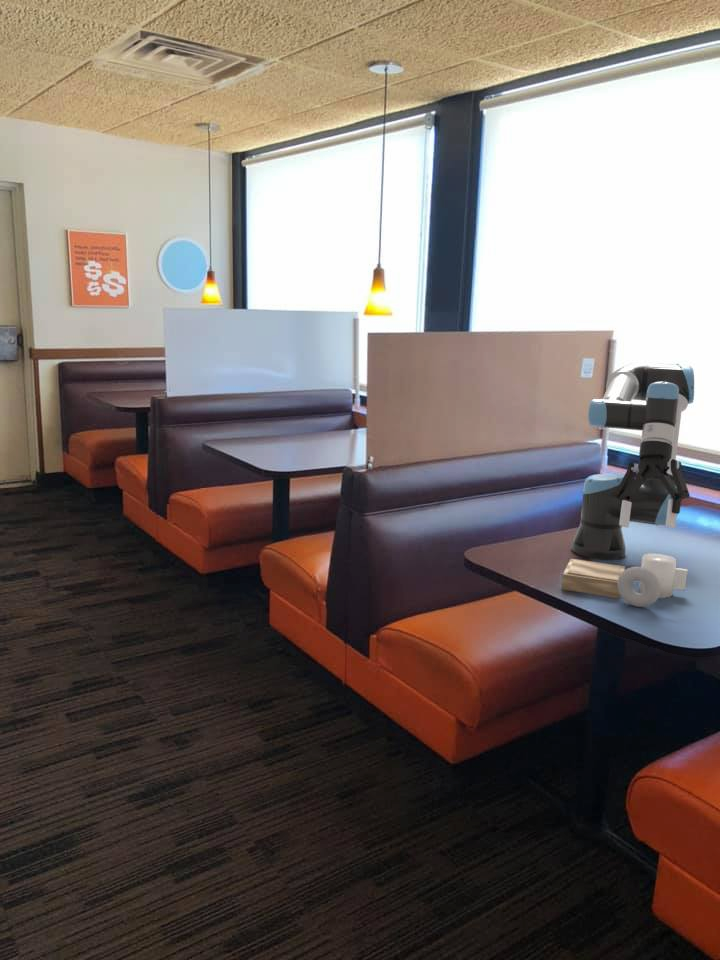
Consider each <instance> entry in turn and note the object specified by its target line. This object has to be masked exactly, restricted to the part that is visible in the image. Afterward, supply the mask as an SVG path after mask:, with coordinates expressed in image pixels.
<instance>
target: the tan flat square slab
mask: <svg viewBox="0 0 720 960" xmlns="http://www.w3.org/2000/svg"><path fill="white" fill-rule="evenodd" d="M625 570H626V566H624V565H619V564H618V565H617V564H612V563H611V564H610V563H603V562H597V561H589V560H584V559H576V558H570V560H569V562H568V563H567V565H566V567H565V569H564V571H563V573H562V578H561V579H562V580H561V590H563V591H571V592H578V593H584V594H590V595H596V596H602V597H609V598H615V599H620V597H621V596H620V593H619V591H618V585H617V583H618V579H619V576H620V575H621V573H622V572H623V571H625Z"/></svg>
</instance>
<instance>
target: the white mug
mask: <svg viewBox="0 0 720 960" xmlns="http://www.w3.org/2000/svg"><path fill="white" fill-rule="evenodd" d="M676 566H677V559H676V558H674V557H672V556H670V555H668V554H662V553H655V552H654V553H645V554H643V555H642V557H641V565H640V567H643V568H646V569H649V570H650V571H651V572H653V573H654V574H655V575H656V577H657V578H658V580H659V582H660V587H661V592H660V595H659V598H658V599H667V598H666V597H668V598H670V596H671V597H672V596H673V591H674V589H675V590H676V589H677V590H682V591H686V587H687V586H686V585H687V579H688V569H687V568H686V569H685V568H680V567H679V568H678V567H676ZM645 590H646V587H645V584H644V583H643V582H641V581H639V583H638V593H643V592H644V591H645Z"/></svg>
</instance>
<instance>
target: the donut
mask: <svg viewBox="0 0 720 960" xmlns="http://www.w3.org/2000/svg"><path fill="white" fill-rule="evenodd" d="M635 581H637V582H638V581H639V582H640V581H641V582H643V583H644V584H645V587H646V590H645V591H644V592H643V593H640V592H637V591H635V589H634V588H633V584H634V582H635ZM617 585H618V591H619V593H620V597H621V598H622V600H624V602H625V603H627V604H628V605H630V606H633V607H636V608H645V607H650V606H651V605H653V604H655V603H656V602H657V600H658V599H660V598H659V595H660V592H661V587H660V582H659V580H658V578H657V577H656V575H655V574H654V573H653V572H651V571H650V570H649V569H646V568H643V567H641V566H636V565H635V566H631V567H627V568H625V571H623V572H622V573H621V575H620V576H619V579H618V583H617Z"/></svg>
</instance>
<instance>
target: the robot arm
mask: <svg viewBox="0 0 720 960" xmlns="http://www.w3.org/2000/svg"><path fill="white" fill-rule="evenodd" d="M694 373H695V372H694V369H693V368H692V366H691V365H685V364H680V363H675V364H669V363H656V362H655V363H651V362H636V363H630V364H627V365H625V366H622V367H619V368H618V369H617V370H615V371H614V372H612V374H611V375H609V378H608V379H607V381H606V387H605V388H606V389H605V393H604V395H603V397H602V398H600V399H599V398H594V399H592V400H591V401H590V403H589V407H588V413H587V414H588V416H587V422H588V425H589V426H591V427H596V428H601V429H604V428H606V429H618V430H620V429H621V430H632V431H642V432H641V438H640V440H641V441H642V442H641V443H640V446H639V447H640V448H639V453H638V455H639V462H638V463H633V462H629V463H628V464H627V465H628V466H627V470H626V471H625V474H623V473H616V472H615V473H613V472H612V473H611V472H610V473H609V472H608V473H606V472H605V473H597V474H592V475H589V476H588V477H587V478H586V479H585V480H584V484H583V490H582V502H581V510H580V511H581V512H580V523H579V526H578V528H577V531H576V533H575V534H574V537H573V540H572V543H571V551H573V553H575V554H577V555H579V556H582V557H585V558H590V559H595V560H596V559H597V560H607V561H608V560H618V559H622V558H624V557H625V556H626V550H627V548H626V543H625V538H624V534H623V530H622V529H623V528H622V527H624V528H629V525H630V522H631V523H638V524H646V525H655V526H666V527H667V528H671V529H676V524H677V517H678V515H679V514H680V512H681V506H682V505H681V504H682V500H685V499H689V498H690V496H691V495H690V493H689V489H688V487H687V483H686V480H685V477H684V474H683V472H682V462H681V461H680V460H677V459H676V458H677V453H678V452H677V451H678V444H679V435H680V428H681V419H682V412H684V411H685V410H687V407H688V406H689V405H691V404H693V403H694V400H695V399H694V398H695V374H694ZM632 400H633V401H632Z"/></svg>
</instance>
